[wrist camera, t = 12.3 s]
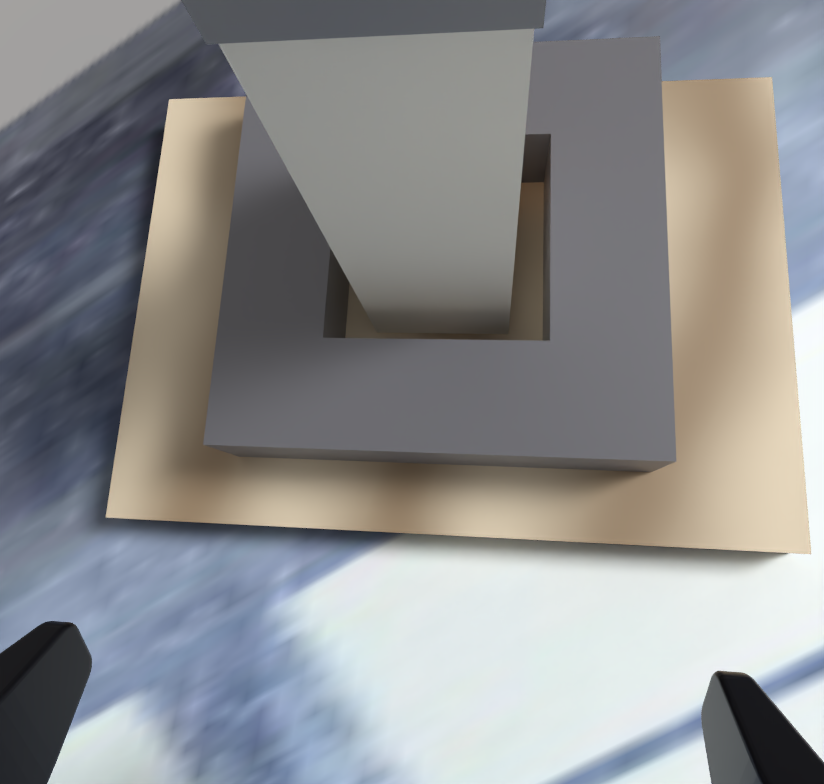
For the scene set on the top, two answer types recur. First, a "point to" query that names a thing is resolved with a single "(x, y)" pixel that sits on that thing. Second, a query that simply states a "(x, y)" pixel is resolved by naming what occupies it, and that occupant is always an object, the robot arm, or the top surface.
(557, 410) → the socket
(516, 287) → the board
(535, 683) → the top surface
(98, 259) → the top surface
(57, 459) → the top surface
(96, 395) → the top surface
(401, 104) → the plug
